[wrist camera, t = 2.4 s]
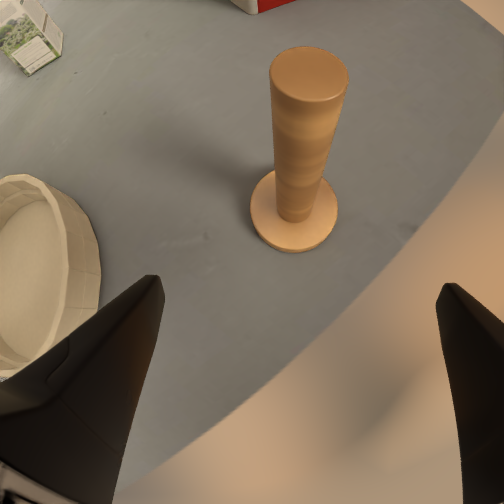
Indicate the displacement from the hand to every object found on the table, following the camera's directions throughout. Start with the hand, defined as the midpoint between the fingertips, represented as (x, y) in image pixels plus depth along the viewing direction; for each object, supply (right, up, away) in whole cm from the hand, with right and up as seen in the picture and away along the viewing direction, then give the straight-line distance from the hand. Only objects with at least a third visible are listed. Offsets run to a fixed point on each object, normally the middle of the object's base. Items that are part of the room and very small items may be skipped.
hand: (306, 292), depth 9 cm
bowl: (-21, -1, +14) cm, 26 cm away
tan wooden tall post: (+1, +4, +13) cm, 14 cm away
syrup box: (-29, +27, +20) cm, 44 cm away
